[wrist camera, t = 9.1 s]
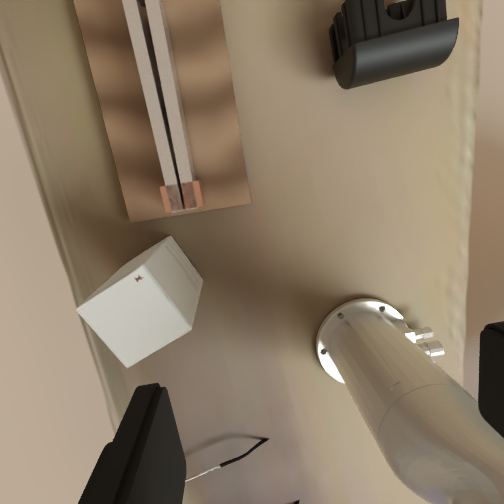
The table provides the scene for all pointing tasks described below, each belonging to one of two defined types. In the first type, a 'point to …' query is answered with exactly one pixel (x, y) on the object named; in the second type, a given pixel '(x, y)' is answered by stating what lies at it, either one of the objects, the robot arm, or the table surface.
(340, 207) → the table surface
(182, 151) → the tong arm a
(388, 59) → the end cap
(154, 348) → the supplement box
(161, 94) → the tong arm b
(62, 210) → the table surface
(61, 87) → the table surface
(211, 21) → the tong board
